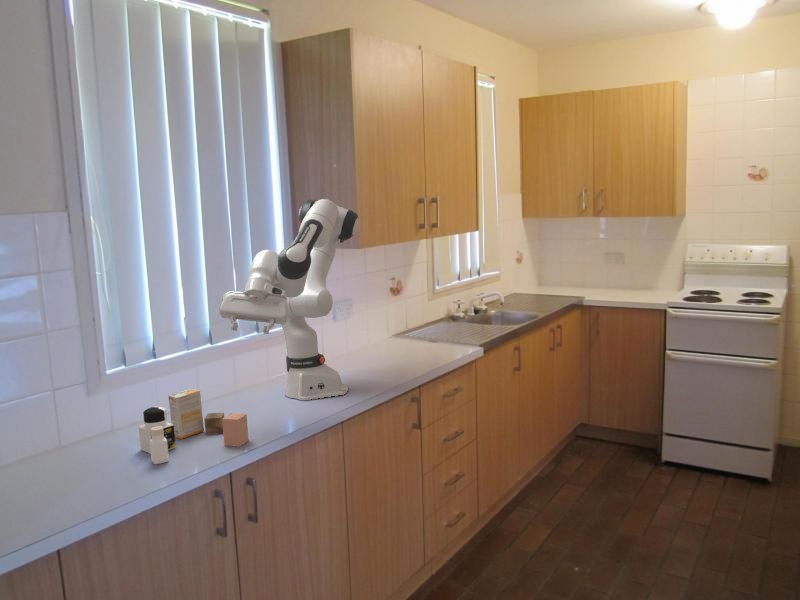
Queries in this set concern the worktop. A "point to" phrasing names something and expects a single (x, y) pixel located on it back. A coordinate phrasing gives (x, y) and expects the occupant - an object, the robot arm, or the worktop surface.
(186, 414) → the supplement box
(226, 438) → the terracotta block
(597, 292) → the worktop surface
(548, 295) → the worktop surface
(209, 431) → the walnut block
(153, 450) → the pepper shaker
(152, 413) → the medicine bottle
